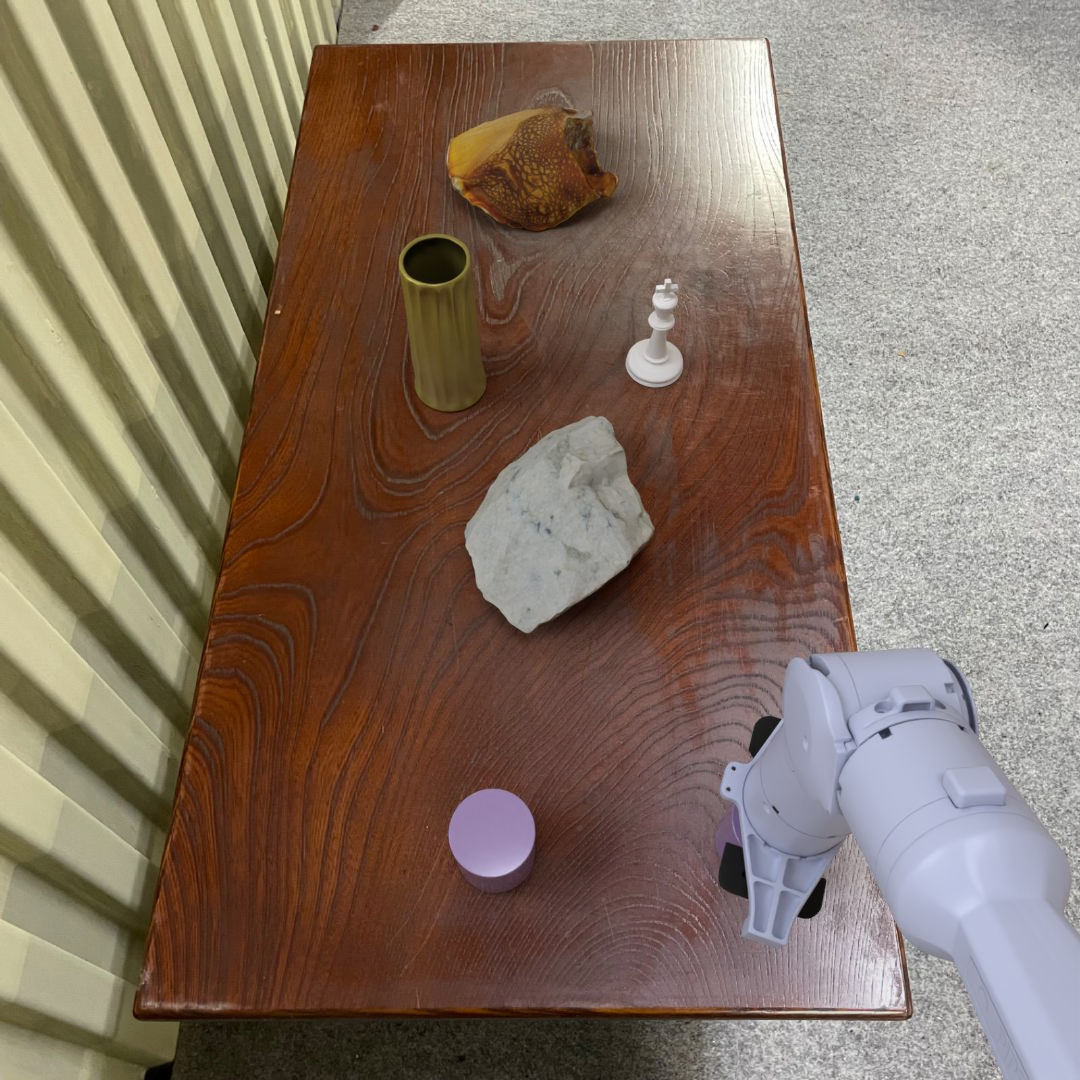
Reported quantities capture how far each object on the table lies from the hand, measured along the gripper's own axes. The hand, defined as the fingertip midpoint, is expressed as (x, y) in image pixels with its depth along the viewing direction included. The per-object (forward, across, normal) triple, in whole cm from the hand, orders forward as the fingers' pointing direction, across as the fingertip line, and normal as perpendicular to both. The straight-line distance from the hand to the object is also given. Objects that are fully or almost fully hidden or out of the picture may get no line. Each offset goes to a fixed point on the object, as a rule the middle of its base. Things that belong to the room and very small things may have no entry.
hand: (761, 836), depth 58 cm
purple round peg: (+2, 0, 0) cm, 2 cm away
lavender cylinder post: (+4, +6, -16) cm, 17 cm away
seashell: (+3, -55, -34) cm, 65 cm away
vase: (+4, -29, -33) cm, 44 cm away
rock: (+4, -18, -20) cm, 27 cm away
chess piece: (+4, -37, -17) cm, 41 cm away
